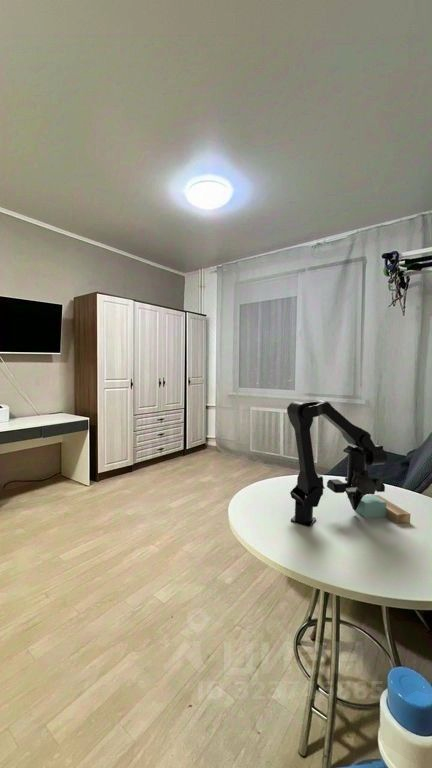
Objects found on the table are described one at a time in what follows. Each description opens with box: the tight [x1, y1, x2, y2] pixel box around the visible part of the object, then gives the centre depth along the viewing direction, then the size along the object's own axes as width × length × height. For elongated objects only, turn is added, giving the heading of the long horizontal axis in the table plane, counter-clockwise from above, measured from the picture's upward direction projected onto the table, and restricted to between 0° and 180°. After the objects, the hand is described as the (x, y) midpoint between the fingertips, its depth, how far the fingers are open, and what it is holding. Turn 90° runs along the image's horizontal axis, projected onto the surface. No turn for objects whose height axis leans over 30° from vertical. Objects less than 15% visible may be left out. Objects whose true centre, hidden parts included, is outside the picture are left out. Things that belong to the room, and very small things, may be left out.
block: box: [354, 494, 386, 519], centre depth 113 cm, size 8×6×5 cm
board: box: [367, 494, 411, 525], centre depth 114 cm, size 5×16×3 cm, turn 9°
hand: (354, 509), depth 112 cm, fingers closed
